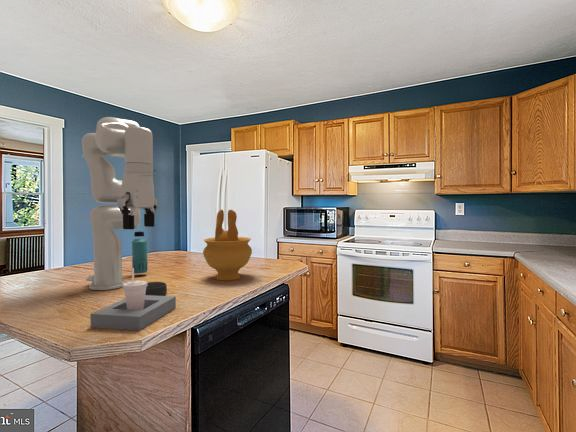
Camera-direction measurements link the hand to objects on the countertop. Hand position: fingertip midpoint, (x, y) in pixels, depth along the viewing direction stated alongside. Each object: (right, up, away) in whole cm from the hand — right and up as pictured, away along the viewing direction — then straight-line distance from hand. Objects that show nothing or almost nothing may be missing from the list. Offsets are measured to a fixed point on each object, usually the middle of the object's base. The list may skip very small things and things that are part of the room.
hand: (139, 227), depth 94 cm
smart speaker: (-3, -25, +17) cm, 31 cm away
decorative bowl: (+18, -24, +45) cm, 54 cm away
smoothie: (+1, -25, -5) cm, 26 cm away
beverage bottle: (-23, -24, +49) cm, 59 cm away
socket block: (+1, -25, -5) cm, 26 cm away
